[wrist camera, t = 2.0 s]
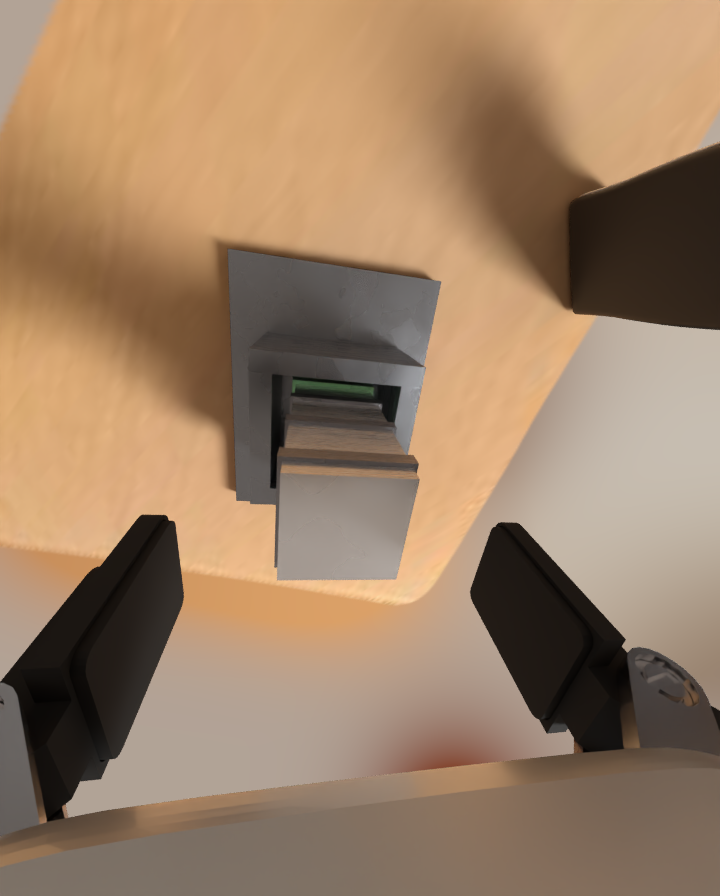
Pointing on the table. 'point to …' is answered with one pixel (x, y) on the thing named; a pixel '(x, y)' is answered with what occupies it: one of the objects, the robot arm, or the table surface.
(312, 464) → the column
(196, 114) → the table surface
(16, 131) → the table surface
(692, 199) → the battery charger
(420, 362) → the stand
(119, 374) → the table surface
